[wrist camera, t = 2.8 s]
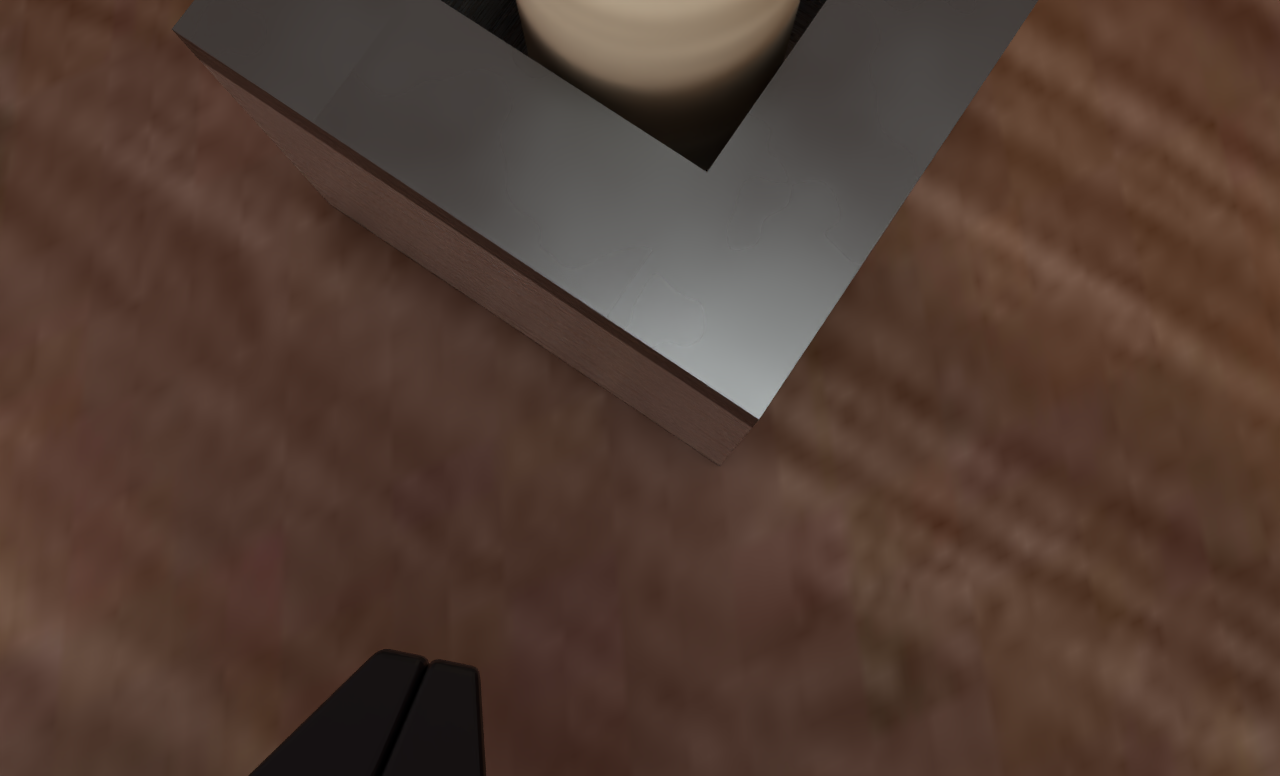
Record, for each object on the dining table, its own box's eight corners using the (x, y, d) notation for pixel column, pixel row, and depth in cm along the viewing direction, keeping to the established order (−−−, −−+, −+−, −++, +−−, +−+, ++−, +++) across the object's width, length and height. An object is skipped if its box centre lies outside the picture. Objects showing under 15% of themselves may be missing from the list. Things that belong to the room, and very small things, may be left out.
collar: (719, 465, 23) (759, 419, 15) (328, 203, 24) (171, 28, 16) (975, 83, 24) (1135, -146, 16) (594, -154, 25) (570, -482, 17)
